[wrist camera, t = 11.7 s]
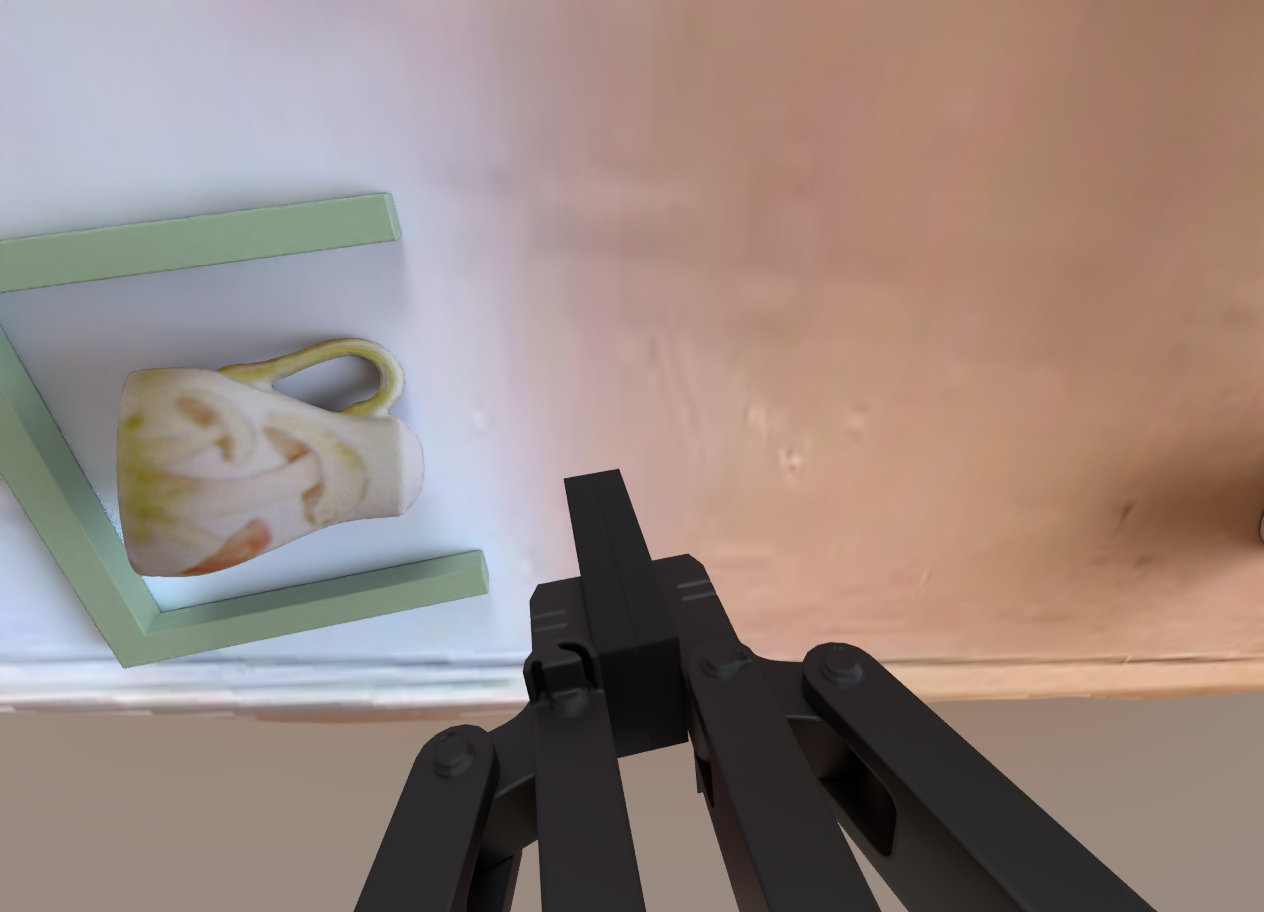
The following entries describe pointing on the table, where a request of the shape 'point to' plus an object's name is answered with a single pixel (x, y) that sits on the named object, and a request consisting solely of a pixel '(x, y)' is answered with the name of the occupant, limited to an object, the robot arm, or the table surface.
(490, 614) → the table surface
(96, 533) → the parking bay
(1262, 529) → the coffee cup
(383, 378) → the mug
